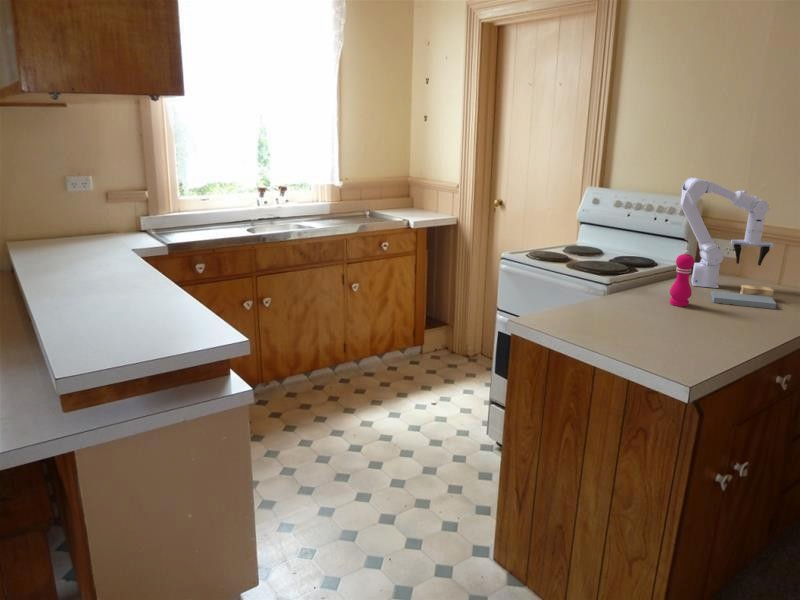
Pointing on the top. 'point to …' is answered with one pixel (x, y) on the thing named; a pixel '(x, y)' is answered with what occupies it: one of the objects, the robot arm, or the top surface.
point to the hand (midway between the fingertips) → (748, 264)
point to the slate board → (743, 299)
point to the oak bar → (757, 290)
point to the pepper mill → (682, 280)
